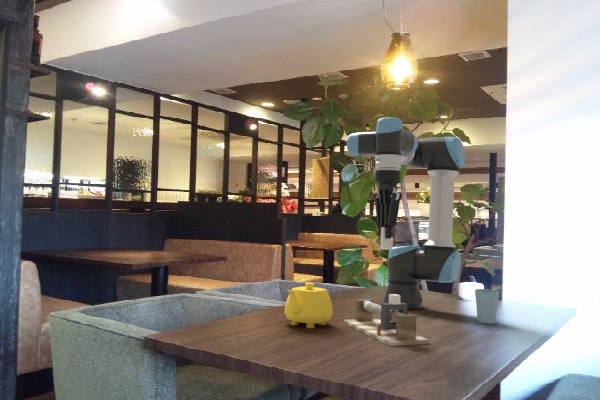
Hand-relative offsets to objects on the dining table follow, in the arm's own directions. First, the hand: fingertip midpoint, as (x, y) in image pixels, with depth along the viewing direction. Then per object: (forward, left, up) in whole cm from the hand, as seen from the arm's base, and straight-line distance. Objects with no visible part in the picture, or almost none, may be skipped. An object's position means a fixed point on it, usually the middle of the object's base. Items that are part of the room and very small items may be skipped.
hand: (385, 249), depth 155 cm
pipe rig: (+1, -1, -24) cm, 24 cm away
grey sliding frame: (+7, -1, -22) cm, 23 cm away
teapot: (-14, -20, -25) cm, 34 cm away
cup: (-7, +42, -25) cm, 50 cm away
